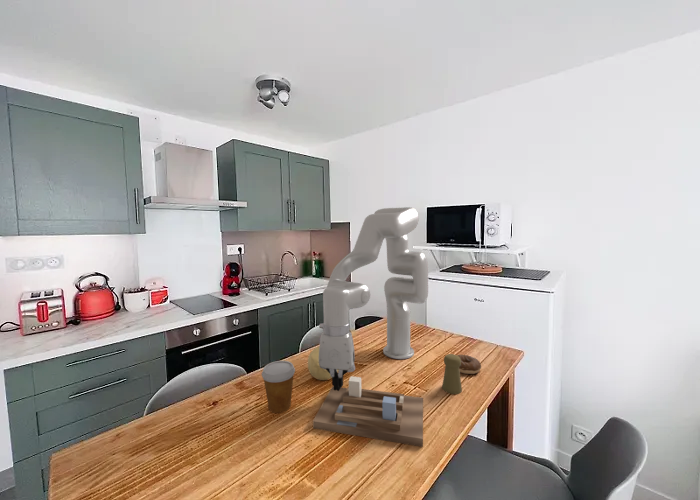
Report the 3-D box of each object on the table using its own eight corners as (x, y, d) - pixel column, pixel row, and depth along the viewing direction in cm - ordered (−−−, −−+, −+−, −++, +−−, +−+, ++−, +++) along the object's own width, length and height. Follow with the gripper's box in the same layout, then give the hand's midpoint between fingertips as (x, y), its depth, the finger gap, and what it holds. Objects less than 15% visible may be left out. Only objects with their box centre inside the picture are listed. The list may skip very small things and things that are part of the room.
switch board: (332, 392, 93) (332, 382, 93) (423, 404, 86) (423, 393, 86) (313, 428, 77) (312, 416, 76) (422, 446, 70) (422, 433, 69)
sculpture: (315, 387, 96) (314, 356, 95) (303, 371, 106) (302, 343, 105) (346, 379, 101) (346, 348, 100) (332, 364, 112) (331, 337, 111)
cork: (463, 395, 90) (464, 360, 90) (443, 393, 92) (443, 359, 91) (460, 384, 96) (460, 352, 95) (441, 382, 98) (441, 351, 97)
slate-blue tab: (383, 415, 78) (383, 396, 77) (396, 417, 77) (396, 397, 76) (382, 422, 75) (382, 402, 75) (395, 424, 74) (395, 403, 74)
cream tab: (351, 393, 88) (350, 376, 87) (361, 395, 87) (361, 377, 87) (348, 398, 85) (348, 380, 85) (359, 400, 85) (359, 382, 84)
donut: (449, 373, 104) (449, 362, 104) (450, 360, 114) (451, 350, 114) (481, 378, 100) (482, 367, 100) (480, 365, 110) (481, 354, 110)
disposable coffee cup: (301, 400, 89) (300, 362, 88) (285, 420, 80) (283, 378, 79) (275, 394, 92) (273, 358, 91) (256, 413, 83) (254, 372, 82)
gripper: (308, 331, 84) (309, 391, 86) (358, 335, 80) (359, 398, 82) (317, 322, 91) (318, 378, 93) (364, 326, 88) (364, 384, 89)
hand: (337, 387), depth 87 cm, fingers closed
